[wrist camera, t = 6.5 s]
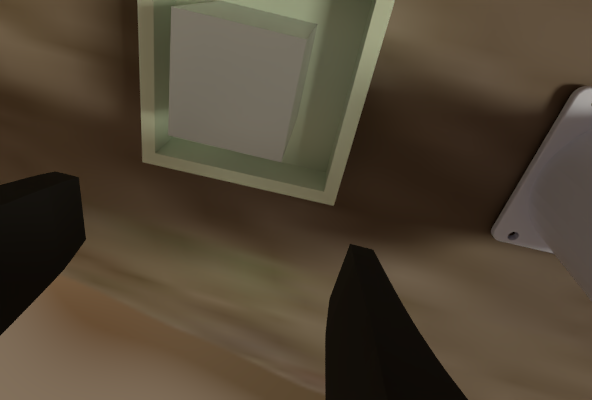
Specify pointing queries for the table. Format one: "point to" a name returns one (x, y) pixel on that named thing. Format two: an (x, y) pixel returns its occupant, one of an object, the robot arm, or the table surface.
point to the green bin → (313, 108)
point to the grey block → (237, 76)
